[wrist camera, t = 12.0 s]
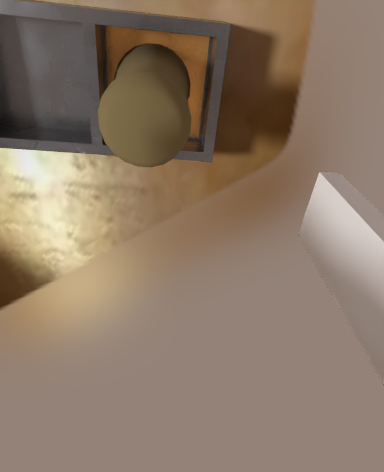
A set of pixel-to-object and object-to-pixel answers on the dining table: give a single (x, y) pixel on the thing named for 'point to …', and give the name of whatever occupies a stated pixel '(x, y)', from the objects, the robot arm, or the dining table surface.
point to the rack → (96, 72)
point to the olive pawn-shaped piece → (147, 106)
